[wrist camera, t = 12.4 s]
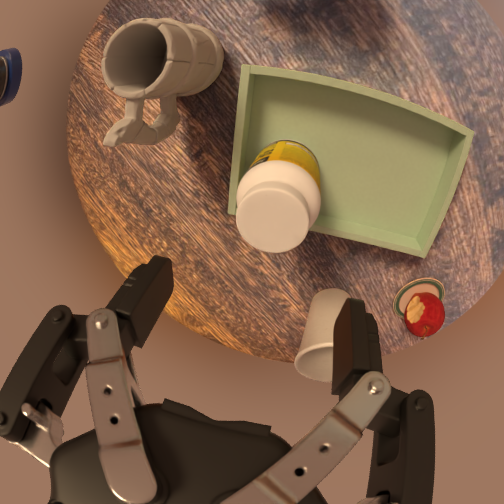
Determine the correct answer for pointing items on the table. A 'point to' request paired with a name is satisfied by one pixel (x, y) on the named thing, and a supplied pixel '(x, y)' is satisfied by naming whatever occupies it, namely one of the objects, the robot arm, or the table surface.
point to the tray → (356, 154)
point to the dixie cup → (320, 335)
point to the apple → (421, 306)
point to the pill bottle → (279, 197)
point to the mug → (157, 73)
